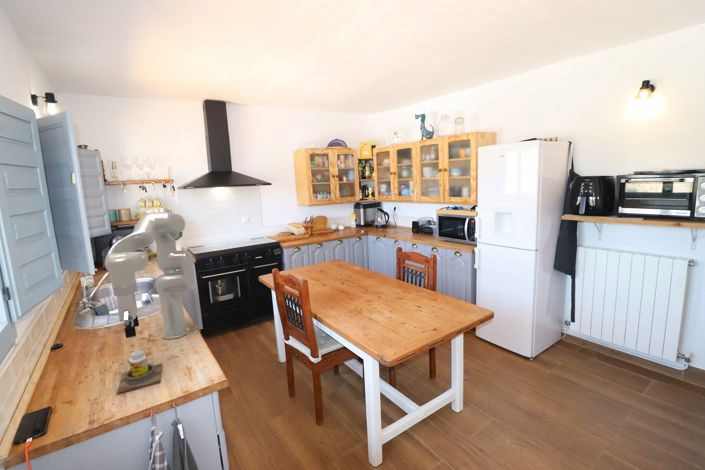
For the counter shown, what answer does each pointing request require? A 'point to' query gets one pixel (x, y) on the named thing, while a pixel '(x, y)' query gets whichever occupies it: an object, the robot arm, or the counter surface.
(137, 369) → the supplement bottle
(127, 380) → the holder
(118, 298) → the robot arm
